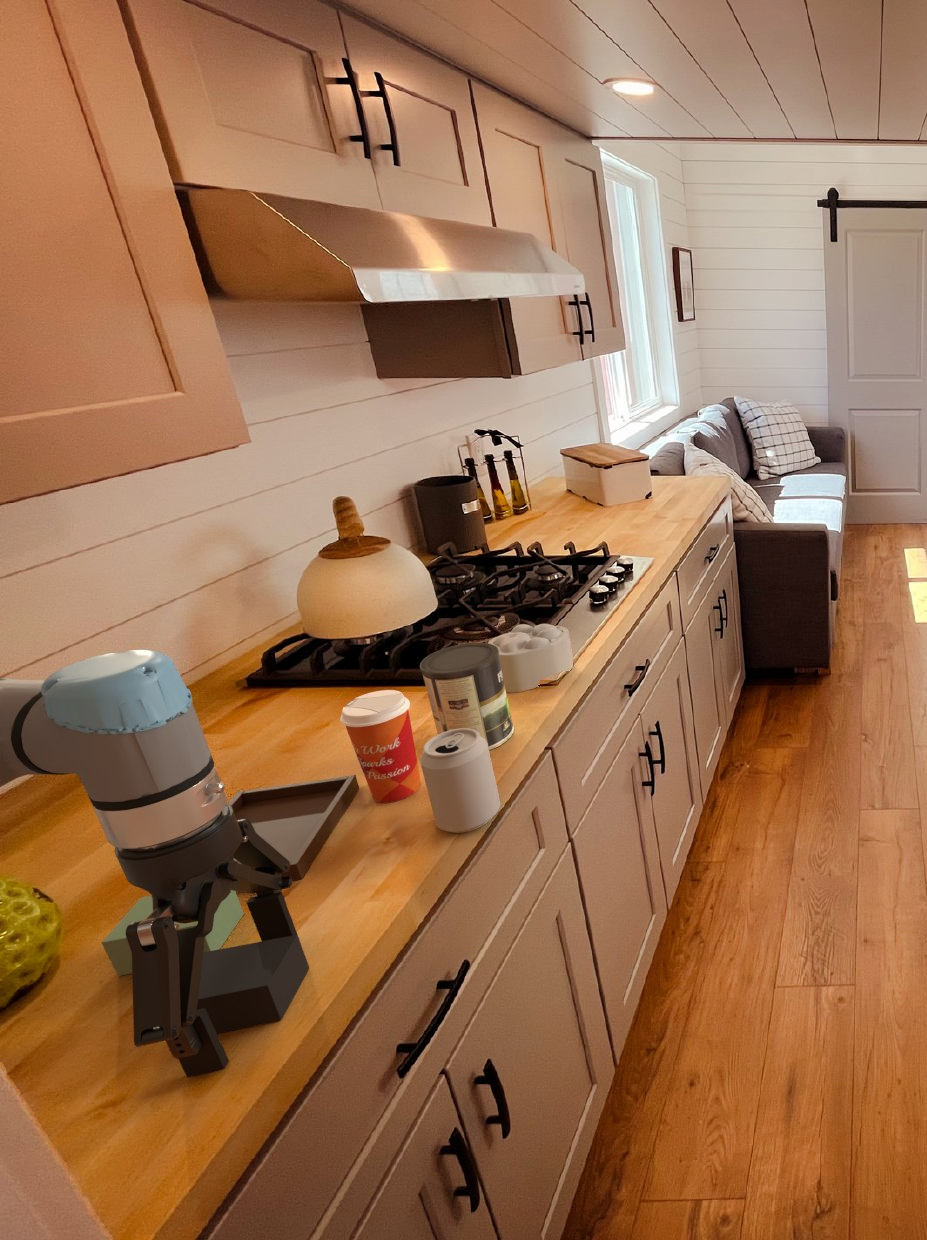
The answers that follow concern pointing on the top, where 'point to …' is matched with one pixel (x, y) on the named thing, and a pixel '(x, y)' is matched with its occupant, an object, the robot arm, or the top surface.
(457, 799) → the can
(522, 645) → the lumpy-topped squat cylinder
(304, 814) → the tray
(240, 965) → the black block
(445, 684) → the coffee can
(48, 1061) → the top surface
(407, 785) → the paper cup
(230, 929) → the pad
